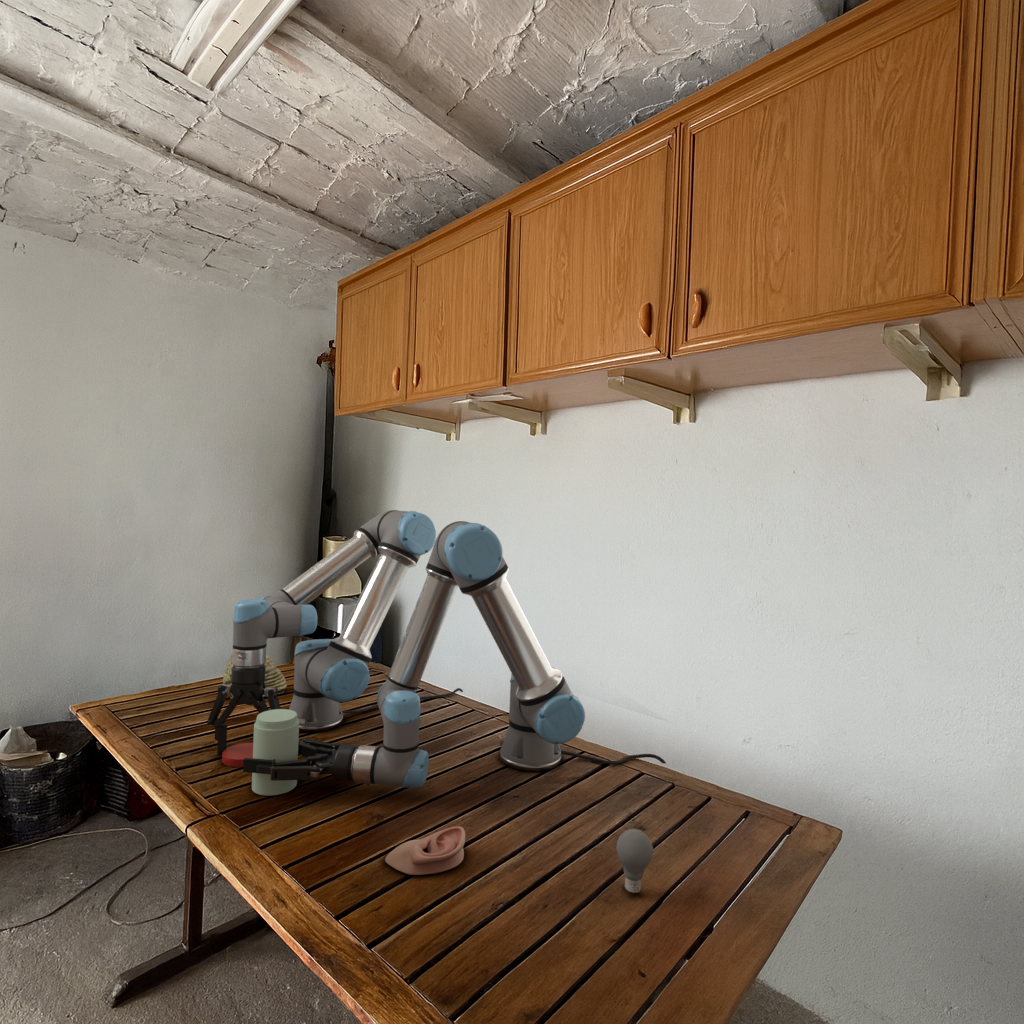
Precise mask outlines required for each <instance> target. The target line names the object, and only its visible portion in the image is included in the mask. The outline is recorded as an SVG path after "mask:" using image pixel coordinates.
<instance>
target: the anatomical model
mask: <svg viewBox="0 0 1024 1024" xmlns="http://www.w3.org/2000/svg"><path fill="white" fill-rule="evenodd" d="M465 844H466V831H465V829H464V828H463V826H451V827H447V828H444V829H442V830H439V831H436V832H433V833H432V834H430V835H428V836H425V837H423V838H420V839H413V840H412V839H410V840H408V841H405V842H403V843H401V844H399V845H397V847H395V848H394V849H392V850H391V851H390V852H389V853H388V854H387V855H386V856H385V859H384V861H385V863H386V864H387V865H389V866H390V867H391V868H393V869H395V870H397V871H399V872H401V873H403V874H406V875H411V876H421V875H422V876H423V875H431V874H438V873H442V872H445V871H448V870H451V869H453V868H456V867H457V866H459V865H460V864H461V863H462V862H463V860H464V857H465V851H464V846H465Z"/></svg>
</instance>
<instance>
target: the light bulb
mask: <svg viewBox="0 0 1024 1024" xmlns="http://www.w3.org/2000/svg"><path fill="white" fill-rule="evenodd" d="M615 849H616V854H617V857H618V859H619V861H620V863H621V865H622V867H623V873H624V874H623V875H624V876H625V878H624V888H625V890H627V891H628V892H630V893H634V894H635V893H639V892H640V891H641V889H642V887H641V886H642V879H643V877H644V875H645V871H646V868H647V867H648V866H649V864H650V863H651V861H652V859H653V855H654V847H653V843H652V841H651V838H649V836H648V835H647V834H646V833H645V832H643V831H642V830H641V829H636V828H629V829H627V830H625V831H623V832H622V833H621V834H620V835H619V837H618V839H617V841H616V847H615Z"/></svg>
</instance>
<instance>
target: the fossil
mask: <svg viewBox="0 0 1024 1024" xmlns="http://www.w3.org/2000/svg"><path fill="white" fill-rule="evenodd" d="M264 665H265V666H266V670H265V682H264V684H265V687H266V688H274V687H277V688H278V695H281V694H284V693H285V691H286V689H287V687H288V686H287V680H286V678H285V676H284V674H283V673H282V672H281V669H279V668H278V667H277V665H276V663H275V662H274V660H273V659H272V658H271V657H270V656H269V655H268V654H267V653H266V662H265V663H264ZM233 666H234V665H233V664H232V654H231V656H230V657H229V659H228V660H227V663H226V666H225V668H224V671H223V675H222V676H223V677H222V684H224V683H227V684H228V685H231V684H232V681H231V672H232V667H233ZM233 697H234V696H233V695H232V693H231V692H230V691H229V698H230V699H232V698H233ZM263 697H266V694H265V693H264V694H263Z"/></svg>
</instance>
